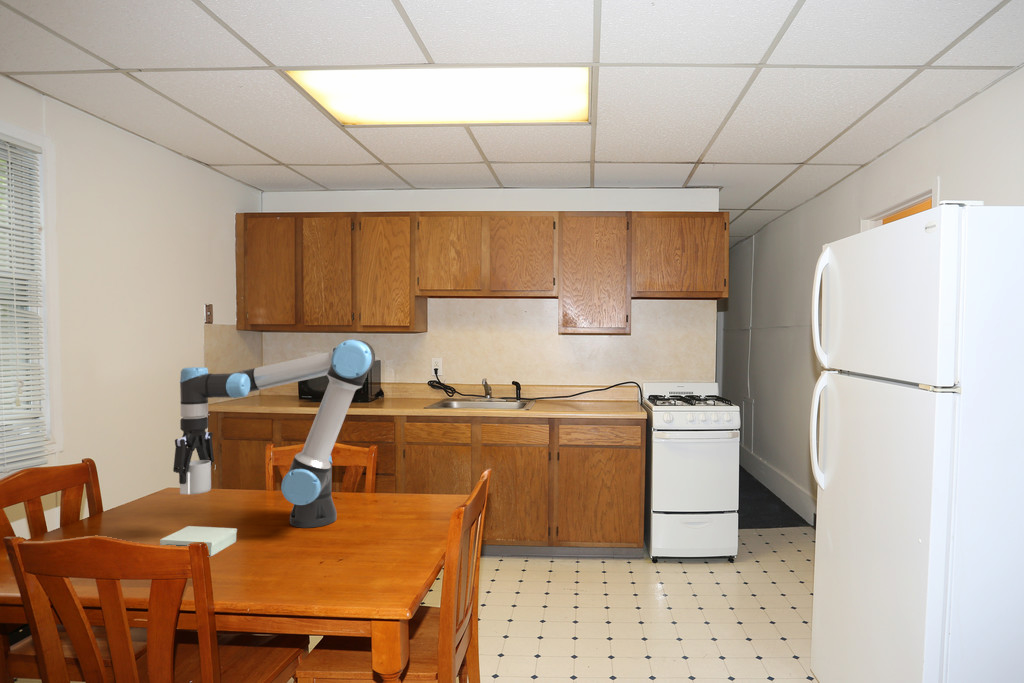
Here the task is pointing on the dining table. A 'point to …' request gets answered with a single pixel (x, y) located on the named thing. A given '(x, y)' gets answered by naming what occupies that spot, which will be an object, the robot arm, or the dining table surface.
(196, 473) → the cup
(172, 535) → the pale green flat block
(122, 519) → the dining table surface
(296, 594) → the dining table surface
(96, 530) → the dining table surface
